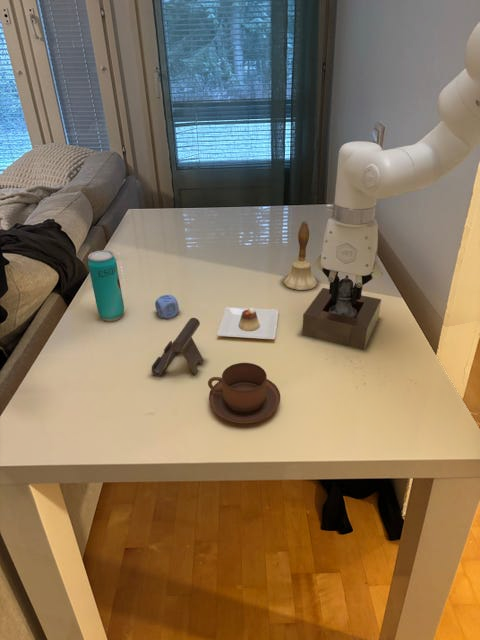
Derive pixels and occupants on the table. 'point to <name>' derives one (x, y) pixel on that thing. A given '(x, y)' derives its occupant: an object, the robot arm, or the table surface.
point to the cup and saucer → (243, 394)
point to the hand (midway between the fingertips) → (344, 298)
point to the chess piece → (344, 299)
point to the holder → (341, 321)
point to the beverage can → (106, 285)
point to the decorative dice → (167, 306)
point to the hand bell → (301, 265)
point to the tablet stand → (181, 349)
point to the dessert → (249, 323)
